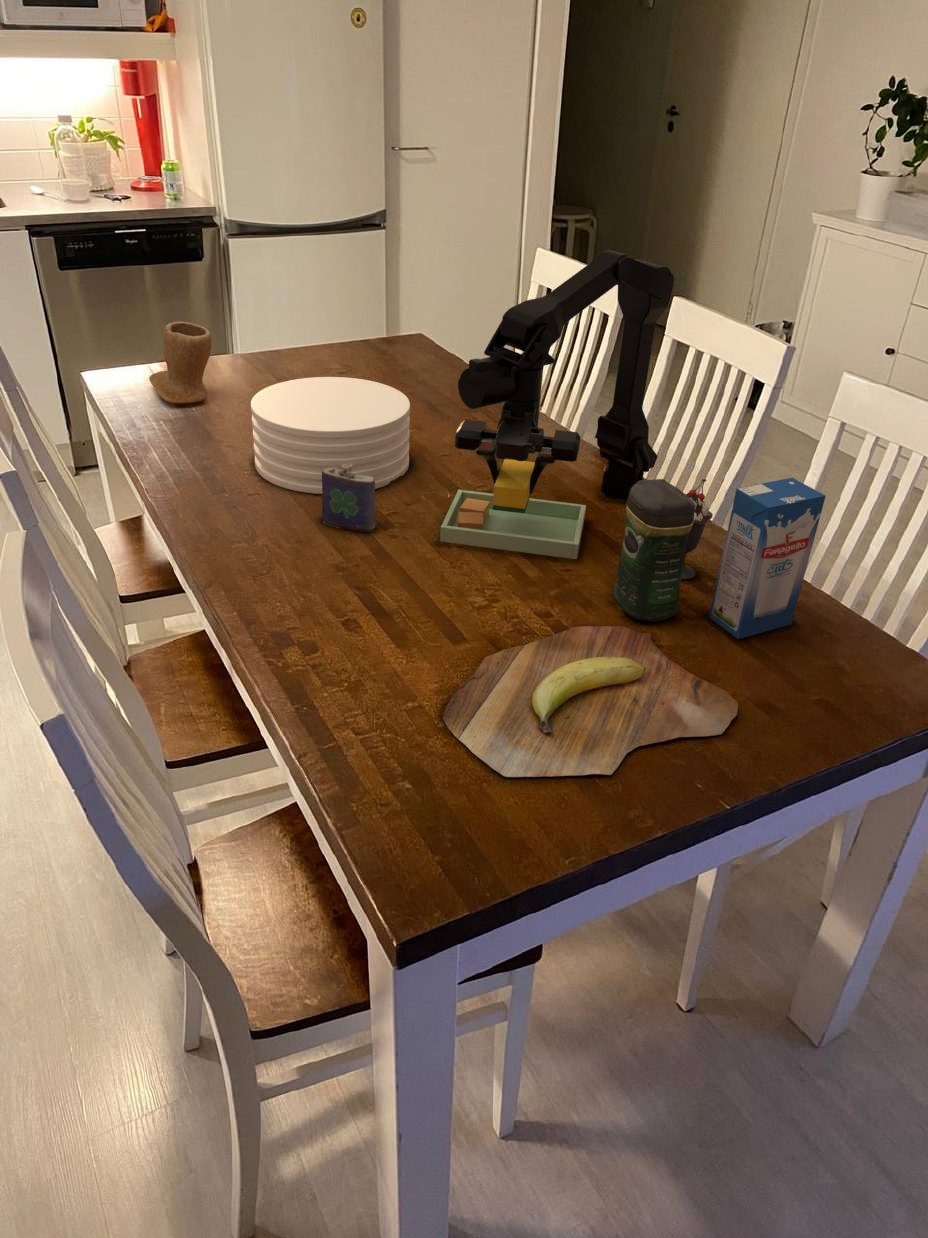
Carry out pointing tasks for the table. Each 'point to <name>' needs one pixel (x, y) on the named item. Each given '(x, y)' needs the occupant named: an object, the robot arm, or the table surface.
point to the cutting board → (581, 703)
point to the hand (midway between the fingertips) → (513, 491)
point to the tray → (520, 527)
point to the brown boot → (183, 363)
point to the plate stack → (329, 431)
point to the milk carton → (765, 556)
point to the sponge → (513, 486)
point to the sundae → (696, 527)
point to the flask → (348, 499)
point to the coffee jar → (653, 550)
